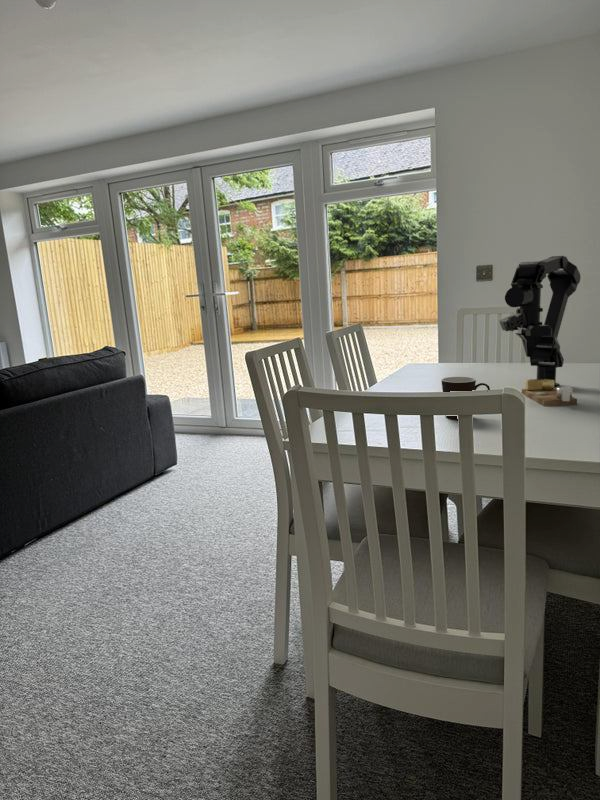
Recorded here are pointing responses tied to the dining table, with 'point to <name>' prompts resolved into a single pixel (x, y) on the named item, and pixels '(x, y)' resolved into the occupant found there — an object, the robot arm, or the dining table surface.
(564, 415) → the dining table surface
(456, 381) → the coffee mug
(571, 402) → the copper base
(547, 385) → the brass lever
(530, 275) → the robot arm
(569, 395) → the steel lever handle
